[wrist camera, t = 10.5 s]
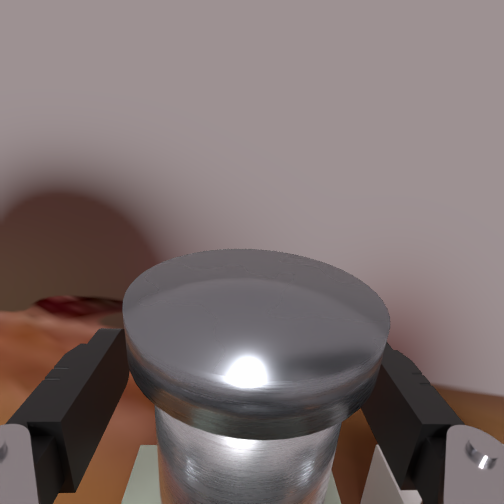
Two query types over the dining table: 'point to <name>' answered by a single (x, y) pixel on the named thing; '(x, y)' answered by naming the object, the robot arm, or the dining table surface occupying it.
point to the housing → (251, 371)
